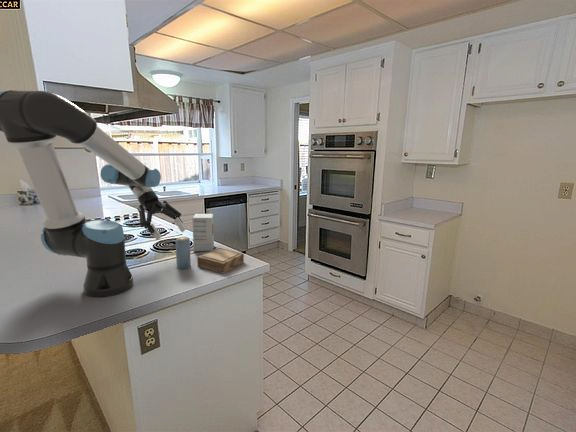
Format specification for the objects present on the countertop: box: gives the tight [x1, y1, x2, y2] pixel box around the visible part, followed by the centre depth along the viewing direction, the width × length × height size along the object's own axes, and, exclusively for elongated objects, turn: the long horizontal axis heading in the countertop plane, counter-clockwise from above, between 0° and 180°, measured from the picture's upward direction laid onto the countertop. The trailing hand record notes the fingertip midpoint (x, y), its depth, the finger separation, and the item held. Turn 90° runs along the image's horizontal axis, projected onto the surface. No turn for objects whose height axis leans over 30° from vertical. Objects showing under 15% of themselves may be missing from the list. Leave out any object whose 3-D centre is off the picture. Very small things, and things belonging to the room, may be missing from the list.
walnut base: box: [197, 247, 245, 274], centre depth 131 cm, size 14×14×4 cm
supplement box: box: [191, 213, 215, 252], centre depth 147 cm, size 10×9×17 cm
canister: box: [175, 236, 192, 270], centre depth 125 cm, size 6×6×13 cm
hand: (172, 234), depth 129 cm, fingers open, 13 cm apart
